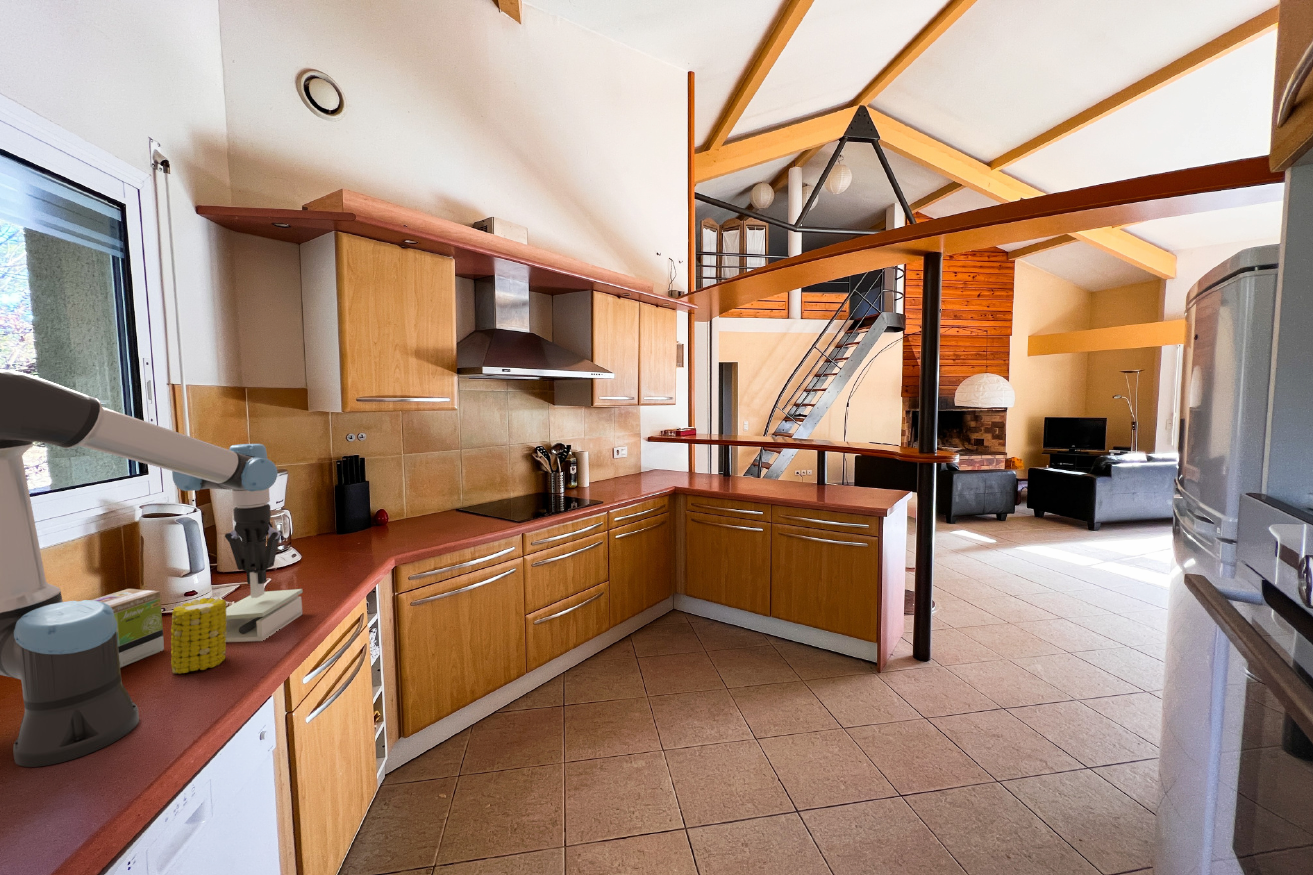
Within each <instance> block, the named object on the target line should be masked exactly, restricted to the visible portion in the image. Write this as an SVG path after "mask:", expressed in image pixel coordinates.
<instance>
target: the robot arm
mask: <svg viewBox="0 0 1313 875" xmlns="http://www.w3.org/2000/svg"><path fill="white" fill-rule="evenodd" d="M33 442H35V443H36V442H37V443H41V444H42V443H43V444H48V445H52V446H53V445H54V446H56V447H60V448H64V449H72V448H75V447H83V448H87V449H90V450H95V451H97V452H100V453H105V454H109V455H112V456H116V457H120V458H124V459H127V460H129V461H130V460H131V461H135V462H138V463H141V464H142V463H143V464H145V465H149V466H153V467H156V468H161V469H164V470H167V471H171V472H172V474H171V475H172V481H173V483H174V485H175V486H176V487H177V488H178V489H179V490H181V491H182V492H183V491H185V492H190V491H193V492H194V491H196V492H198V491H201V490H207V489H211V490H226V491H227V490H229V491H231V493H232V494H231V496H232V505H233V506H234V508H233V521H234V522H235V525H234V528H233V530H232V531H230V532H227V533H225V534H224V538H225V539H226V540H227V541H228V543H229V546H230V548H231V552H232V555H233V558H234V561H235V565H236V568H237V570H238V571H245V572H246V582H247V585H249V586H250V595H251V598H258V597H260V596H262V595H263V594H264V592H265V583H266V582H267V570H268V569H271V568H272V567H274V565H275V561H276V560H275V559H276V555H277V550H278V545H279V540H280V538H281V537H282V534H283V531H282V530H280V529H279V530H277V529H275V528H273V524H272V523H271V517H272V514H271V513H272V512H271V505H270V504H269V502H270V501H271V499H270V498H271V497H270V488H271V487H272V486H273V485H275V483H276V481H277V478H278V473H279V472H278V468H277V466H276V464H275V463H274V462H273V461H272V460H270V459H268V454H267V453H268V451H267V448H266V446H265V445H264V444H262V443H242V444H233V445H231V446H230V447H229V449H228V448H225V447H221V446H218V445H216V444H212V443H209V442H207V441H203V440H201V439H198V438H195V437H192V436H190V435H187V434H183V433H180V432H177V431H175V430H171V429H169V428H166V427H163V426H160V425H157V424H154V423H152V422H148V421H145V420H143V419H139V418H136V417H134V416H131V415H127V414H125V413H122V412H118V411H115V410H113V409H109V408H107V407H103V406H102V402H101V401H100V400H99V399H98V398H96V397H93V396H90V395H87V394H85V393H82V392H79V391H77V390H75V389H71V388H68V387H65V386H63V385H60V384H58V383H56V382H55V383H54V382H52V381H49V380H46V379H44V378H41V377H38V376H35V375H32V374H28V373H25V372H21V371H15V370H10V369H0V676H4V677H9V678H14V679H17V680H20V681H21V689H22V697H23V698H22V699H23V704H24V713H23V717H22V719H21V723H20V728H19V732H18V737H17V738H16V740H14V744H13V746H12V747H13V749H12V752H13V758H14V760H13V761H14V763H15V764H16V765H18V766H20V767H26V768H27V767H28V768H34V767H36V768H37V767H45V766H50V765H51V766H52V765H56V764H61V763H65V762H67V761H71V760H75V759H78V758H80V757H83V756H86V755H88V754H91V753H93V752H94V753H95V752H96V751H99V750H101V749H103V748H105V747H108V746H110V745H111V744H114V743H115V742H117V741H119V740H120V739H121V738H124V737H125V736H126V735H128V734H129V733H130V732H131V731H133V730H135V728H136V727H137V725H138V724H139V722H140V716H139V715H140V714H139V708H138V705H137V704H136V703H135V702H133V699H132V697H131V695H130V694H129V692H128V691H127V688H126V686H124V684H123V682H122V681H123V680H122V673H121V668H120V661H119V651H118V640H117V622H116V619H115V616H114V612H113V609H112V608H111V607H110V606H109V605H108V604H106V603H103V602H100V601H94V600H93V599H90V600H89V599H83V600H80V601H79V600H78V601H77V600H68V601H63V600H64V599H63V597H62V592H61V588H60V587H58V586H56V585H53V584H51V583H48V582H47V580H46V579H47V578H46V574H45V568H44V563H43V557H42V554H41V548H40V543H39V536H38V533H37V527H36V520H35V516H34V512H33V506H32V505H33V504H32V501H31V496H30V491H29V490H30V489H29V486H28V485H29V484H28V479H27V474H26V470H25V464H24V459H23V455H24V454H25V453H26V452H27V451H28V450H30V448H32V447H33ZM267 537H268V539H267Z"/></svg>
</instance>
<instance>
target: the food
mask: <svg viewBox="0 0 1313 875" xmlns="http://www.w3.org/2000/svg"><path fill="white" fill-rule="evenodd" d="M226 603H227V601H226V600H225V599H223V598H222V599H221V598H220V597H218V598H216V599H215V598H213V597H212V598H206V597H203V598H200V599H193V600H192V601H191V602H185V603H182V605H178V606H175V607H174V608H173V610H172V611H171V614H172V615H171V626H170V628H171V629H170V633H171V636H170V637H171V640H170V643H171V646H170V649H171V651H170V654H171V658H170V659H171V660H170V664H171V670H172V671H171V672H172V674H179V675H180V674H185V673H186V674H187V673H190V672H194V671H198V670H200V671H204V670H207V669H208V668H210V669H213V668H215V667H216V666H219V665H220V664H221V663H222V662H223V661H225V659H226V650H227V647H226V646H227V644H226V643H227V642H225V641H226V636H225V635H227V632H226V618H227V617H226V609H227V604H226Z"/></svg>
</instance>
